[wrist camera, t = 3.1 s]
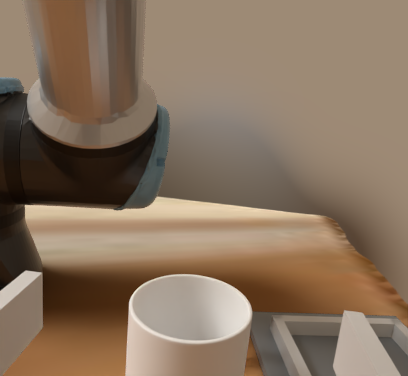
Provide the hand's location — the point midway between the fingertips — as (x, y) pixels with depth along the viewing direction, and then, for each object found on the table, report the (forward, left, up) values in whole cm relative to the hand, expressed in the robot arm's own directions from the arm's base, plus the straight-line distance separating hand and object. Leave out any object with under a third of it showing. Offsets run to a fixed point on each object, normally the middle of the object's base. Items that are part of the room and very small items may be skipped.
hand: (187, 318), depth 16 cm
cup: (-10, +2, -15) cm, 18 cm away
